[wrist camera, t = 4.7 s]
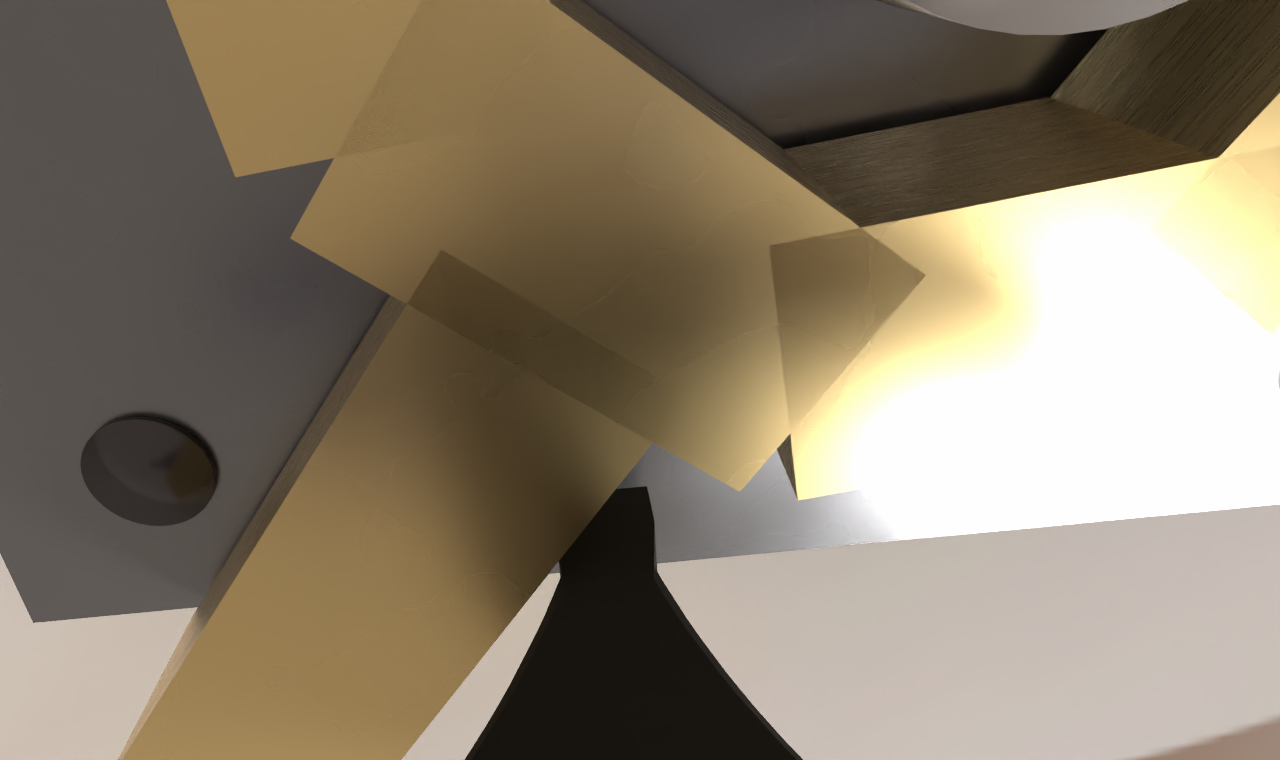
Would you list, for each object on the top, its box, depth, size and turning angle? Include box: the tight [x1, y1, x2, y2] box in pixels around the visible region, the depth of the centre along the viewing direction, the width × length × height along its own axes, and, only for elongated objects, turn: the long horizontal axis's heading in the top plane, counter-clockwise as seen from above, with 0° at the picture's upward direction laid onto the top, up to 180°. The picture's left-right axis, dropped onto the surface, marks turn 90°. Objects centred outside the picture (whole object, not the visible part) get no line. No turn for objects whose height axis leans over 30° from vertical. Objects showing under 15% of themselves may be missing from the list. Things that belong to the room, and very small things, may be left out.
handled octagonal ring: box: [118, 0, 1280, 760], centre depth 7 cm, size 17×11×2 cm, turn 145°
